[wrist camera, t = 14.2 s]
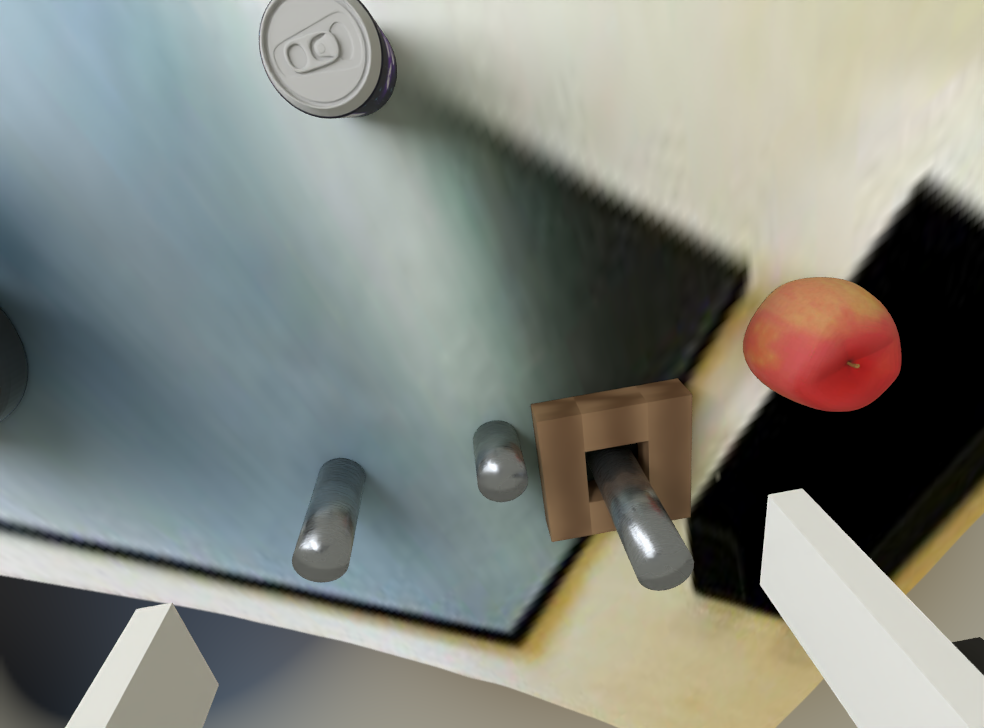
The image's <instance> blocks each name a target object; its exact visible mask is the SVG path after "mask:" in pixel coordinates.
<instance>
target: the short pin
mask: <svg viewBox="0 0 984 728" xmlns="http://www.w3.org/2000/svg"><path fill="white" fill-rule="evenodd" d="M473 445H474V454H475V463H476V472H477V482H478V488H479V490H480V492H481V493H482V495H483V496H485V497H486V498H487V499H489V500H492V501H496V502H506V501H510V500H513V499H515V498H517V497H518V496H520V495H521V494H522V493H523V492H524V491H525V489H526V487H527V484H528V475H527V471H526V467H525V463H524V459H523V455H522V451H521V447H520V443H519V439H518V435H517V432H516V430H515V429H514V427H513V426H512V425H510V424H509V423H507V422H504V421H490V422H487V423H485V424H483V425H481V426H480V427H479V428H478V429H477V431H476V432H475V434H474V437H473Z"/></svg>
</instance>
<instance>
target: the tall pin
mask: <svg viewBox="0 0 984 728" xmlns="http://www.w3.org/2000/svg"><path fill="white" fill-rule="evenodd" d="M586 460H587V462H588V465H589V467H590V469H591V472H592V474H593V476H594V479H595V481H596V483H597V486H598V488H599V490H600V493H601V495H602V497H603V500H604V502H605V504H606V507H607V509H608V511H609V514H610V516H611V518H612V520H613V523H614V525H615V527H616V530H617V532H618V534H619V537H620V539H621V541H622V544H623V546H624V548H625V551H626V553H627V555H628V558H629V560H630V562H631V565H632V567H633V569H634V571H635V574H636V576H637V578H638V581H639V582H640V583H641V585H643V586H644V587H646V588H648V589H651V590H657V591H660V590H667V589H671V588H674V587H676V586H678V585H680V584H681V583H683V582H684V581H685V580H686V579H687V578H688V577H689V576H690V574H691V573H692V570H693V567H694V560H693V557H692V555H691V554H690V552H689V550H688V549H687V547H686V545H685V543H684V542H683V540H682V538H681V536H680V535H679V533H678V531H677V529H676V528H675V526H674V524H673V522H672V521H671V519H670V517H669V515H668V514H667V512H666V510H665V509H664V507H663V505H662V503H661V502H660V500H659V498H658V496H657V495H656V493H655V491H654V489H653V488H652V486H651V484H650V482H649V481H648V479H647V477H646V475H645V474H644V472H643V470H642V469H641V467H640V465H639V463H638V462H637V460H636V458H635V456H634V455H633V453H632V451H631V449H630V448H629V446H628V444H627V445H622V446H616V447H610V448H605V449H599V450H593V451H588V452H586Z"/></svg>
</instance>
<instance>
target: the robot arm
mask: <svg viewBox="0 0 984 728" xmlns="http://www.w3.org/2000/svg"><path fill="white" fill-rule="evenodd" d="M26 383H27V361H26V356H25V352H24V348H23V345H22V343H21V340H20V338H19V336H18V334H17V332H16V330H15V328H14V327H13V325H12V323H11V322H10V320H9V319H8V318H7V316H6V315H5V313H4V312H3V311H2V310H1V308H0V421H1V420H3V419H4V418H5V417H7V416H8V415H9V414H10V413H11V412H12V411H13V410H14V409H15V408H16V406H17V405H18V403H19V402H20V400H21V398H22V396H23V394H24V391H25V388H26ZM760 585H761V587H762V588H763V590H764V591H765V593H766V594H767V596H768V597H769V599H770V600H771V602H772V603H773V604H774V606H775V607H776V609H777V610H778V612H779V613H780V615H781V616H782V618H783V619H784V621H785V622H786V623H787V625H788V626H789V628H790V629H791V631H792V632H793V634H794V635H795V637H796V638H797V640H798V641H799V643H800V644H801V645H802V647H803V648H804V650H805V651H806V653H807V654H808V656H809V657H810V659H811V660H812V662H813V663H814V664H815V666H816V667H817V669H818V670H819V672H820V673H821V675H822V676H823V678H824V679H825V681H826V682H827V683H828V685H829V686H830V687H831V689H832V691H833V692H834V693H835V695H836V696H837V698H838V700H839V701H840V702H841V704H842V705H843V707H844V708H845V710H846V711H847V713H848V714H849V716H850V717H851V718H852V720H853V721H854V722H855V724H856V726H857V727H858V728H984V640H983V639H982V638H980V637H979V638H973V639H968V640H963V641H957V642H950V641H949V639H948V638H947V637H946V636H945V635H944V634H943V633H942V632H941V631H940V630H939V629H938V628H937V627H936V626H935V625H934V624H933V623H932V622H931V621H930V620H929V619H928V618H927V617H926V616H925V615H924V614H923V613H922V612H921V611H920V610H919V608H918V607H917V606H915V604H914V603H913V602H912V601H911V600H910V599H909V598H908V597H907V596H906V595H905V594H904V593H903V592H902V591H901V590H900V589H899V588H898V587H897V586H896V585H895V584H894V583H893V582H892V581H891V580H890V579H889V578H888V577H887V575H886V574H885V573H884V572H883V571H882V570H881V569H880V568H879V567H878V566H877V565H876V564H875V563H874V562H873V561H872V560H871V559H870V558H869V557H868V556H867V555H866V554H865V553H864V552H863V551H862V550H861V549H860V548H859V547H858V546H857V545H856V544H855V543H854V541H853V540H852V539H851V538H850V537H849V536H848V535H847V534H846V533H845V532H844V531H843V530H842V529H841V528H840V527H839V526H838V525H837V524H836V523H835V522H834V521H833V520H832V519H831V518H830V517H829V516H828V515H827V514H826V513H825V512H824V511H823V510H822V509H821V507H820V506H819V505H818V504H817V503H816V502H815V501H814V500H813V499H812V498H811V497H810V496H809V495H808V494H807V493H806V492H805V491H804V490H803V489H797V490H792V491H786V492H781V493H775V494H770V495H768V504H767V514H766V525H765V536H764V546H763V557H762V568H761V579H760ZM218 685H219V684H218V682H217V681H216V679H215V677H214V675H213V674H212V672H211V670H210V669H209V667H208V665H207V663H206V661H205V660H204V658H203V656H202V654H201V653H200V651H199V649H198V647H197V646H196V644H195V642H194V640H193V638H192V637H191V635H190V633H189V632H188V630H187V628H186V626H185V624H184V623H183V621H182V619H181V617H180V615H179V614H178V612H177V610H176V608H175V607H174V605H173V603H168V604H162V605H157V606H152V607H146V608H141V609H136V611H135V613H134V614H133V616H132V618H131V619H130V621H129V623H128V624H127V626H126V628H125V629H124V631H123V633H122V634H121V636H120V638H119V639H118V641H117V643H116V644H115V646H114V648H113V649H112V651H111V653H110V654H109V656H108V658H107V659H106V661H105V663H104V664H103V666H102V668H101V669H100V671H99V673H98V674H97V676H96V678H95V679H94V681H93V683H92V684H91V686H90V687H89V689H88V691H87V692H86V694H85V696H84V697H83V699H82V701H81V702H80V704H79V706H78V708H77V709H76V711H75V712H74V714H73V716H72V717H71V719H70V721H69V722H68V724H67V726H66V727H65V728H202V727H203V725H204V722H205V720H206V717H207V714H208V712H209V709H210V706H211V704H212V701H213V698H214V696H215V693H216V691H217V688H218Z"/></svg>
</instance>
